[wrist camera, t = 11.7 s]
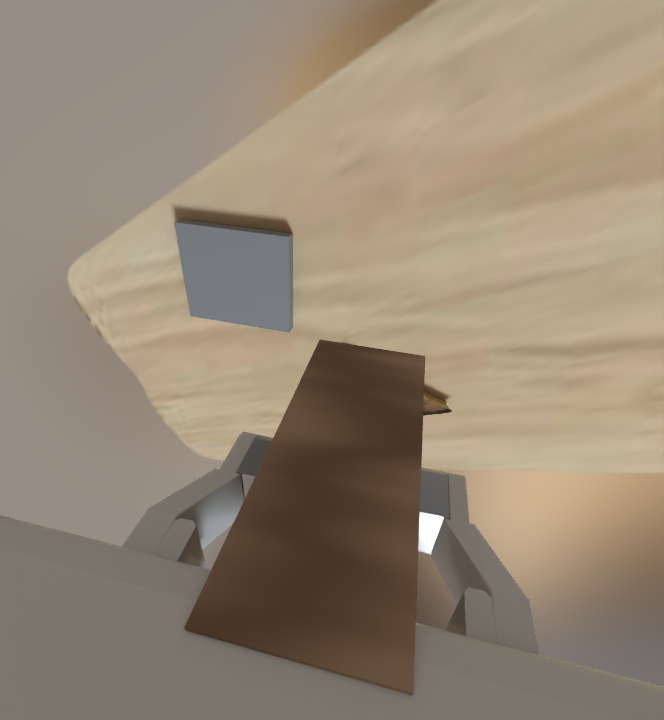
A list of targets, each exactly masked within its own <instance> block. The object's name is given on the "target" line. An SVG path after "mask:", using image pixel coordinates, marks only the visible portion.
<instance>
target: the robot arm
mask: <svg viewBox="0 0 664 720" xmlns="http://www.w3.org/2000/svg"><path fill="white" fill-rule="evenodd" d="M272 440H273V438H270V437H266V436H261V435H256V434H252V433H247V432H242V433H241V434H240V435H239V437H238V439H237V440H236V442H235V444H234V446H233V447H232V449H231V451H230V452H229V454H228V456H227V458H226V459H225V461H224V463H223V465H222V466H221V468H220V469H214V470H212V471H211V472H209V473H207V474H206V475H204V476H202V477H201V478H199V479H197V480H196V481H194V482H192V483H191V484H189V485H187V486H185V487H184V488H182V489H180V490H179V491H177V492H175V493H174V494H172V495H171V496H169V497H167V498H166V499H164V500H162V501H160V502H159V503H157V504H155V505H154V506H152V507H150V508H149V509H148V510H147V511H146V513H145V514H144V516H143V517H142V518H141V520H140V521H139V523H138V524H137V526H136V527H135V529H134V530H133V531H132V533H131V534H130V536H129V537H128V539H127V540H126V541H125V543H124V544H123V546H122V547H121V546H117V545H113V544H109V543H106V542H102V541H98V540H94V539H90V538H86V537H82V536H79V535H75V534H71V533H67V532H63V531H59V530H55V529H51V528H47V527H44V526H40V525H36V524H32V523H28V522H25V521H21V520H17V519H13V518H9V517H5V516H2V515H0V720H664V687H662V686H658V685H654V684H651V683H647V682H643V681H639V680H635V679H631V678H627V677H623V676H620V675H615V674H612V673H608V672H604V671H600V670H596V669H593V668H588V667H585V666H580V665H577V664H573V663H569V662H565V661H562V660H558V659H554V658H550V657H546V656H542V655H539V651H538V646H537V640H536V635H535V629H534V624H533V619H532V613H531V608H530V604H529V600H528V599H527V597H526V596H525V594H524V593H523V592H522V590H521V589H520V587H519V586H518V585H517V583H516V582H515V580H514V579H513V578H512V576H511V575H510V573H509V572H508V571H507V569H506V568H505V566H504V565H503V564H502V562H501V561H500V560H499V558H498V557H497V555H496V554H495V553H494V551H493V550H492V548H491V547H490V546H489V544H488V543H487V541H486V540H485V539H484V537H483V536H482V535H481V533H480V532H479V530H478V529H477V528H476V526H475V525H473V524H469V512H468V501H467V489H466V479H465V477H464V476H462V475H457V474H452V473H446V472H442V471H437V470H432V469H426V468H421V487H420V516H419V544H418V551H421V552H425V553H428V554H431V557H432V559H433V561H434V563H435V565H436V567H437V569H438V571H439V573H440V575H441V577H442V579H443V581H444V583H445V585H446V587H447V589H448V591H449V593H450V595H451V598H452V599H453V602H454V604H455V606H456V608H455V611H454V612H453V615H452V616H451V618H450V620H449V622H448V624H447V626H446V628H445V630H442V629H438V628H434V627H430V626H426V625H422V624H418V623H416V629H415V658H414V686H413V694H412V695H409V694H405V693H402V692H398V691H395V690H391V689H388V688H384V687H381V686H377V685H374V684H370V683H367V682H363V681H360V680H356V679H353V678H349V677H346V676H342V675H339V674H335V673H332V672H328V671H325V670H321V669H318V668H314V667H311V666H307V665H304V664H300V663H297V662H294V661H290V660H287V659H283V658H280V657H276V656H273V655H269V654H266V653H262V652H259V651H255V650H252V649H248V648H245V647H241V646H238V645H234V644H231V643H227V642H224V641H220V640H217V639H213V638H210V637H206V636H203V635H199V634H196V633H192V632H189V631H186V630H185V628H184V627H185V625H186V623H187V621H188V618H189V616H190V614H191V612H192V610H193V608H194V606H195V604H196V601H197V599H198V597H199V595H200V593H201V591H202V589H203V587H204V584H205V582H206V580H207V578H208V576H209V574H210V572H211V570H209V569H207V567H206V563H205V559H204V555H203V551H202V549H203V548H205V547H206V546H207V545H208V544H209V543H210V542H212V541H213V540H214V539H215V538H216V537H217V536H218V535H220V534H221V533H222V532H223V531H225V530H226V529H227V528H228V527H229V526H230V525H232V524H233V523H234V521H235V519H236V516H237V514H238V512H239V510H240V508H241V506H242V504H243V502H244V500H245V497H246V495H247V493H248V491H249V489H250V487H251V485H252V483H253V480H254V478H255V476H256V474H257V472H258V470H259V468H260V466H261V463H262V461H263V459H264V457H265V455H266V453H267V451H268V449H269V446H270V444H271V442H272Z"/></svg>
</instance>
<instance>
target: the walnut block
mask: <svg viewBox="0 0 664 720" xmlns="http://www.w3.org/2000/svg"><path fill="white" fill-rule="evenodd" d="M424 374H425V356H420V355H414V354H408V353H401V352H395V351H389V350H382V349H376V348H370V347H364V346H357V345H351V344H345V343H338V342H332V341H326V340H319V342H318V344H317V347H316V349H315V351H314V353H313V355H312V357H311V359H310V361H309V364H308V366H307V368H306V370H305V372H304V374H303V376H302V378H301V381H300V383H299V385H298V387H297V389H296V391H295V393H294V395H293V398H292V400H291V402H290V404H289V406H288V408H287V410H286V412H285V415H284V417H283V419H282V421H281V423H280V425H279V427H278V429H277V432H276V434H275V436H274V438H273V440H272V442H271V444H270V446H269V449H268V451H267V453H266V455H265V457H264V459H263V461H262V463H261V466H260V468H259V470H258V472H257V474H256V476H255V478H254V480H253V483H252V485H251V487H250V489H249V491H248V493H247V495H246V497H245V500H244V502H243V504H242V506H241V508H240V510H239V512H238V514H237V516H236V519H235V521H234V523H233V525H232V527H231V529H230V531H229V534H228V536H227V538H226V540H225V542H224V544H223V546H222V548H221V551H220V553H219V555H218V557H217V559H216V561H215V563H214V565H213V567H212V570H211V572H210V574H209V576H208V578H207V580H206V582H205V584H204V587H203V589H202V591H201V593H200V595H199V597H198V599H197V601H196V604H195V606H194V608H193V610H192V612H191V614H190V616H189V618H188V621H187V623H186V625H185V627H184V628H185V630H186V631H189V632H192V633H196V634H199V635H203V636H206V637H210V638H213V639H217V640H220V641H224V642H227V643H231V644H234V645H238V646H241V647H245V648H248V649H252V650H255V651H259V652H262V653H266V654H269V655H273V656H276V657H280V658H283V659H287V660H290V661H294V662H297V663H300V664H304V665H307V666H311V667H314V668H318V669H321V670H325V671H328V672H332V673H335V674H339V675H342V676H346V677H349V678H353V679H356V680H360V681H363V682H367V683H370V684H374V685H377V686H381V687H384V688H388V689H391V690H395V691H398V692H402V693H405V694H409V695H412V694H413V686H414V658H415V629H416V599H417V572H418V544H419V516H420V487H421V459H422V431H423V402H424Z"/></svg>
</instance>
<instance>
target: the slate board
mask: <svg viewBox="0 0 664 720" xmlns="http://www.w3.org/2000/svg"><path fill="white" fill-rule="evenodd" d="M175 228H176V233H177V239H178V245H179V251H180V257H181V262H182V268H183V274H184V280H185V286H186V291H187V297H188V303H189V309H190V315H191V316H194V317H200V318H206V319H212V320H218V321H224V322H230V323H236V324H242V325H248V326H254V327H260V328H266V329H272V330H278V331H284V332H290V331H291V329H292V328H293V233H288V232H280V231H272V230H264V229H256V228H248V227H240V226H232V225H224V224H216V223H208V222H200V221H192V220H184V219H181V220H179V221H176V222H175Z"/></svg>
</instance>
